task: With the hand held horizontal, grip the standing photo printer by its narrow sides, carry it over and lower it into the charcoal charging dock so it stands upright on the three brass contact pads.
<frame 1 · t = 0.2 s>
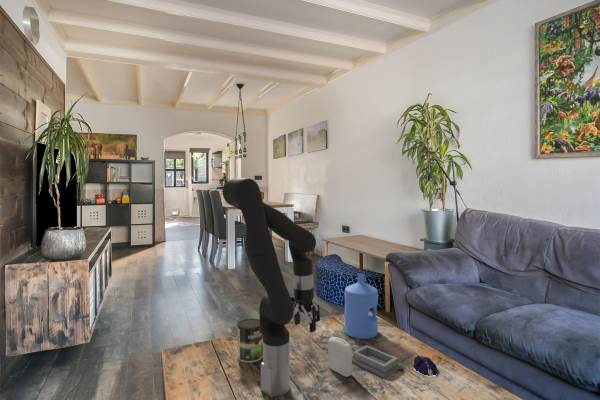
hand: (304, 327, 132), 18 cm above the table, fingers open, 8 cm apart
coffee can: (250, 357, 146), on the table
computer mouse: (423, 368, 137), on the table
photo printer: (339, 371, 135), on the table
water jug: (360, 332, 169), on the table
dock: (374, 364, 140), on the table
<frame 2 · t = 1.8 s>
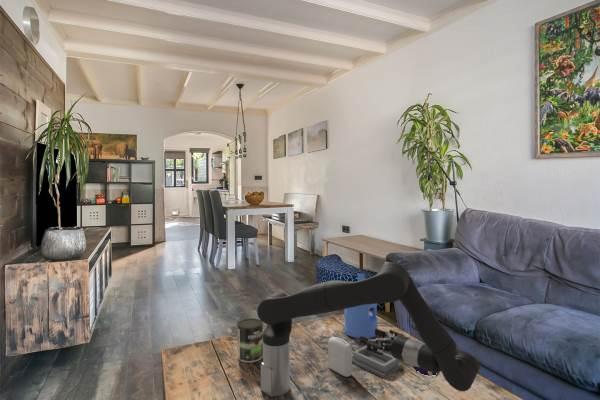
hand: (368, 335, 124), 18 cm above the table, fingers open, 8 cm apart
nothing on the table moved.
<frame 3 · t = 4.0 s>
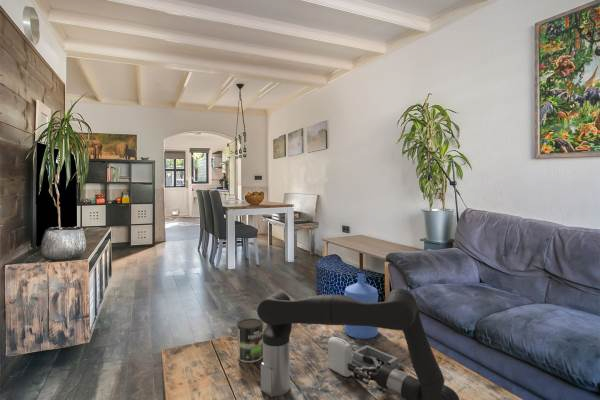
hand: (355, 361, 129), 7 cm above the table, fingers open, 8 cm apart
nothing on the table moved.
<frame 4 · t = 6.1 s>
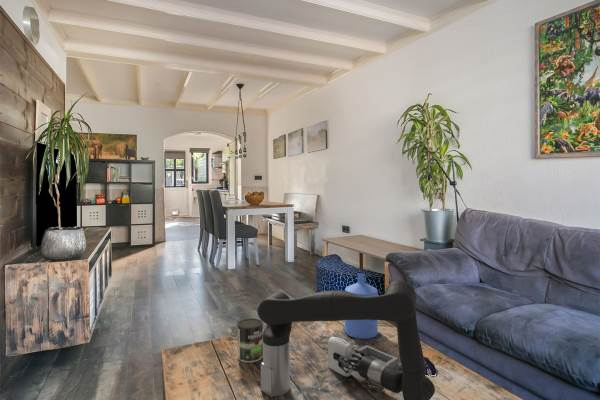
hand: (338, 353, 135), 7 cm above the table, fingers closed on photo printer, 4 cm apart
photo printer: (339, 371, 135), on the table, touching gripper
everything else where it was.
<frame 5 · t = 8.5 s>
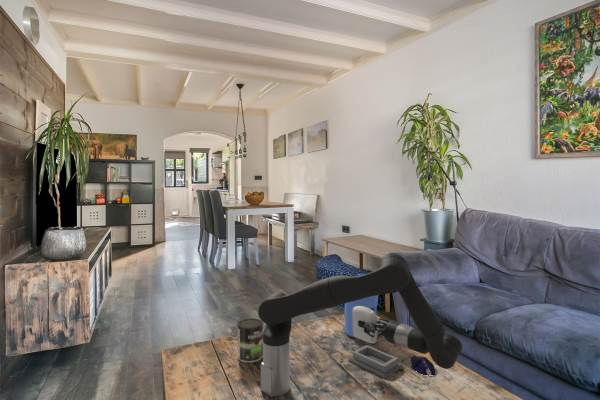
hand: (362, 321, 137), 18 cm above the table, fingers closed on photo printer, 4 cm apart
photo printer: (364, 339, 137), point 11 cm above the table, touching gripper
everything else where it was.
when the fingers open (9 cm above the table, at t = 10.9 s): photo printer drops 1 cm, resting on dock.
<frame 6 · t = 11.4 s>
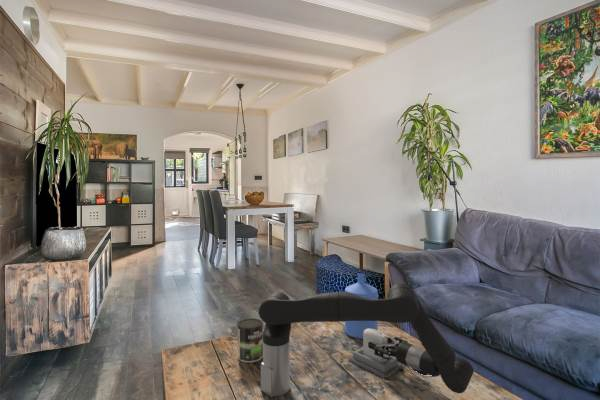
hand: (375, 341, 139), 9 cm above the table, fingers open, 8 cm apart
photo printer: (375, 361, 140), point 1 cm above the table, touching dock
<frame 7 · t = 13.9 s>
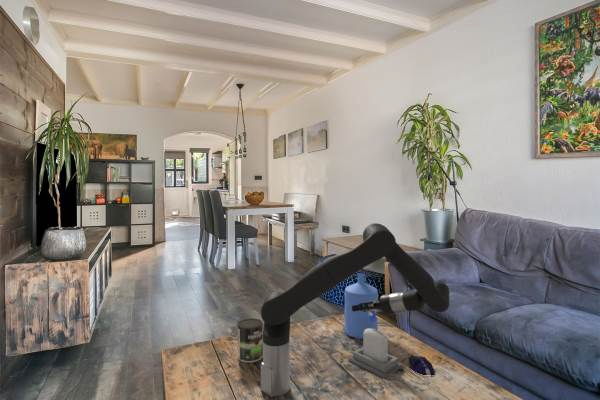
hand: (357, 308, 143), 21 cm above the table, fingers open, 8 cm apart
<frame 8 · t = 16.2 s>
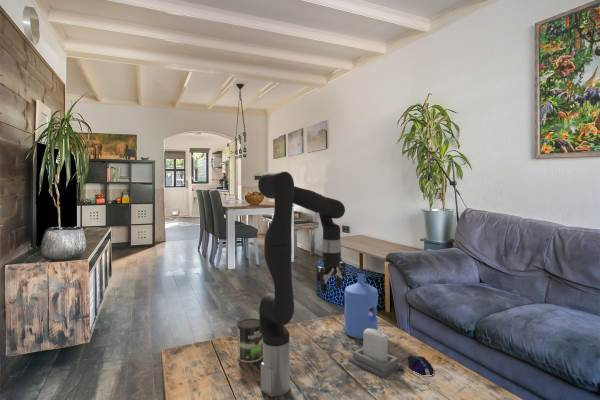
hand: (331, 289, 143), 28 cm above the table, fingers open, 8 cm apart
at the end: photo printer 0.1 cm off-centre on the dock, point 1.0 cm above the dock's base; photo printer tilted 0°; the gripper is holding nothing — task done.
